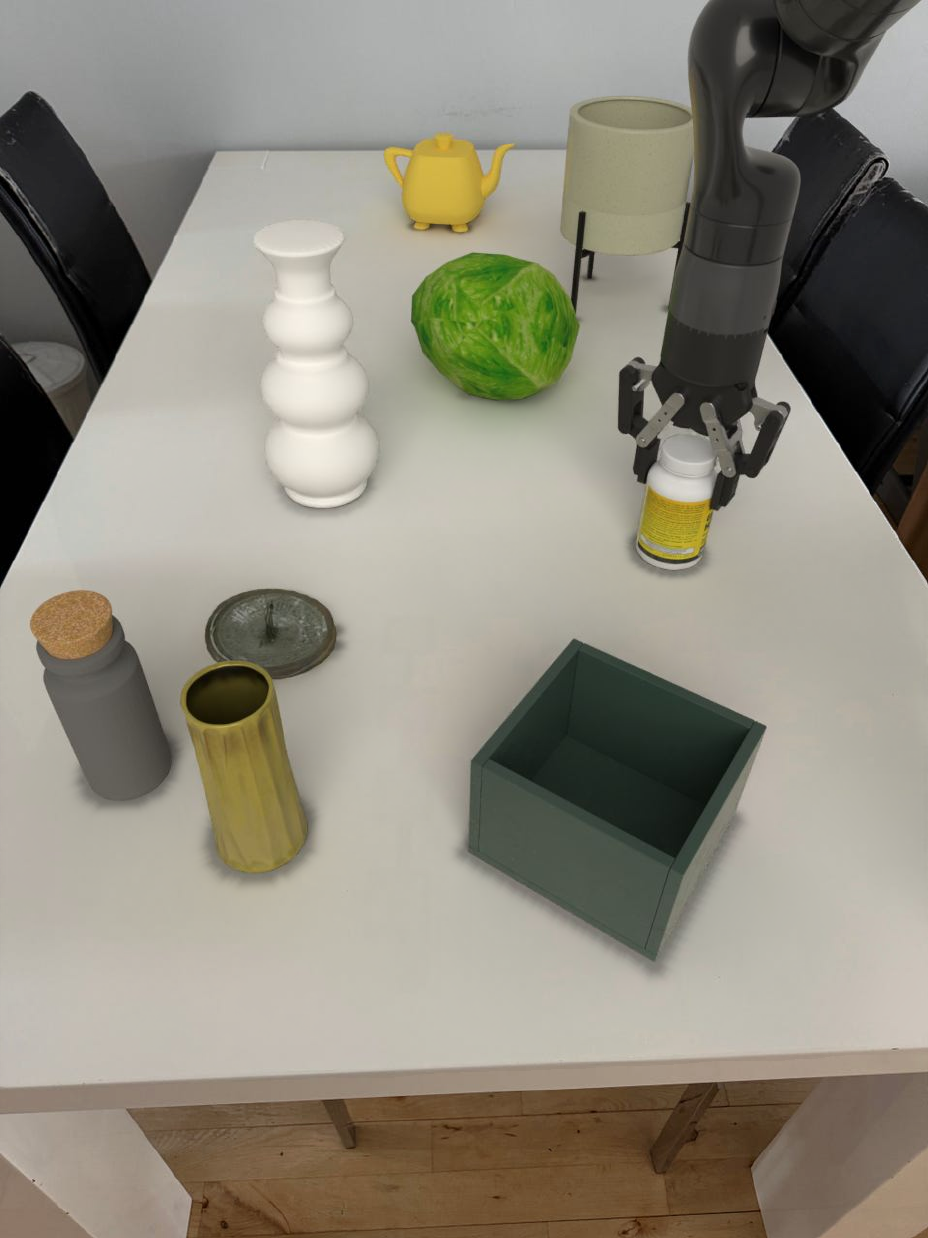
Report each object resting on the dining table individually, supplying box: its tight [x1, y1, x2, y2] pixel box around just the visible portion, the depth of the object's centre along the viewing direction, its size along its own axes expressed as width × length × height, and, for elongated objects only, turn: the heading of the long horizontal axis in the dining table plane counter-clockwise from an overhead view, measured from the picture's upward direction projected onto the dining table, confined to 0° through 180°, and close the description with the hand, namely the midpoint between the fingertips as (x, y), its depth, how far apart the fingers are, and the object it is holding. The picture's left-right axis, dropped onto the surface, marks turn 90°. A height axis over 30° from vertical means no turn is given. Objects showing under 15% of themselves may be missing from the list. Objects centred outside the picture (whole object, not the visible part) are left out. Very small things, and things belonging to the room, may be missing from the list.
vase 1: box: [179, 661, 308, 874], centre depth 56 cm, size 6×6×14 cm
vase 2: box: [252, 219, 380, 509], centre depth 82 cm, size 11×11×25 cm
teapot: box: [383, 132, 516, 233], centre depth 139 cm, size 13×20×12 cm
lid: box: [204, 588, 338, 681], centre depth 73 cm, size 11×10×5 cm
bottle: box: [29, 589, 172, 801], centre depth 60 cm, size 6×6×15 cm
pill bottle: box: [635, 433, 718, 571], centre depth 80 cm, size 6×6×11 cm
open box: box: [467, 638, 768, 963], centre depth 58 cm, size 14×13×10 cm
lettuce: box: [410, 251, 581, 401], centre depth 101 cm, size 17×20×17 cm
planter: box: [559, 95, 694, 315], centre depth 115 cm, size 15×16×23 cm
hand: (681, 491), depth 79 cm, fingers closed on pill bottle, 6 cm apart
